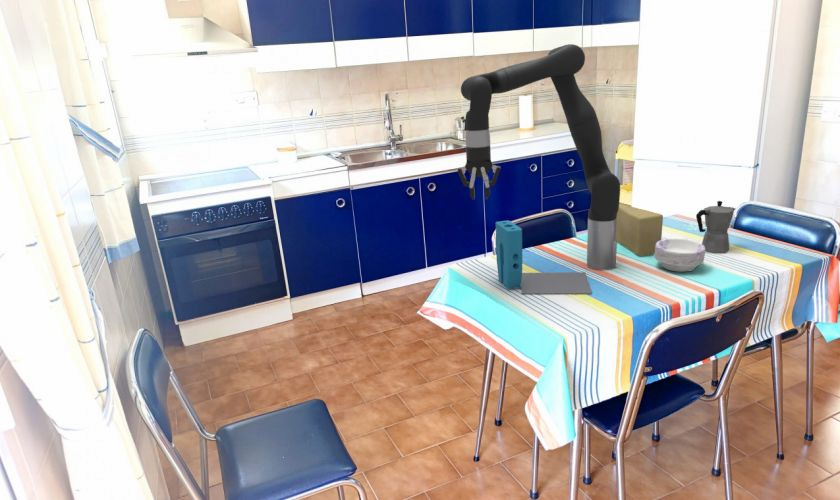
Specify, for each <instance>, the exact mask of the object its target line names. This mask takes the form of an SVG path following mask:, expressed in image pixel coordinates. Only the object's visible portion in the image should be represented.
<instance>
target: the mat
mask: <svg viewBox="0 0 840 500" xmlns="http://www.w3.org/2000/svg"><path fill="white" fill-rule="evenodd" d="M520 290H521V291H520V294H521V295H593V291H592V289H591V286H590V283H589V280H588V276H587V273H586V272H583V271H581V272H580V271H577V272H576V271H575V272H570V271H569V272H568V271H567V272H522V278H521V287H520Z"/></svg>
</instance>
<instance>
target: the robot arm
mask: <svg viewBox="0 0 840 500" xmlns="http://www.w3.org/2000/svg"><path fill="white" fill-rule="evenodd" d="M585 62H586V56H585V52H584V50H583V49H582V47H580V46H579V45H577V44H574V43H569V44H564V45H562V46H561V45H560V46H558V47H555V48H553V49H551V50H550V51H549V52H548V54H547V55H546V56H543V57H539V58H536V59H532V60H528V61H524V62H519V63H515V64H512V65H508V66H506V67H502V68H499V69H496V70H494V71H491V72H485V73H480V74H476V75H472V76H470V77H467V78H466V79H464V80H463V82H462V84H461V86H460V93H461V95H462V96H463V98H464V99H466V100H467V101H469V110H467V112H466V114H465V157H466V162H465V165H464V166H462V167H458V169H457V173H458V176H459V177H460V181H461V182H462V185H463V187H467V188H469V197H470V198H471V200H476V199H475V198H476V193H475V192H476V190H475V180H476V178H483V182H484V185H485V186H484V199H485V200H488V199H489V198H490V195H491V187H492V186H495V185H496V182H497V180H498V176H499V175H500V171H501V166H500V165H494V164H493V163H492V159H491V158H492V155H491V151H492V149H491V133H490V122H489V121H490V117H489V113H490V109H491V105H492V104H491V103H492V96H493V95H495V94H504V93H507V92H510V91H513V90H517V89H520V88H522V87H526V86H527V85H531V84H533V83H536V82H539V81H541V80H545V79H547V78H550V79H551V81H552V83H553V86H554V88H555V90H556V92H557V95H558V98H559V101H560V104H561V107H562V109H563V113H564V116H565V119H566V122H567V126H568V129H569V132H570V133H569V134H570V135H571V138H572V141H573V143H574V146H575V148H576V151H577V154H578V155H579V158H580V160H581V163H582V167H583V172H584V177H585V182H586V187H587V189H588V191H589V193H590V195H591V196H590V208H589V209H588V212H587V215H588V216H587V237H586V238H587V239H586V240H587V242H586V243H587V245H586V246H587V247H586V266H587V267H588V268H589V269H593V270H598V271H604V270H605V271H606V270H611V269H616V268H617V266H616V265H617V248H618V244H617V243H618V242H617V241H616V218H617V212H618V210H619V203H620V200H621V199H620V196H621V183H620V180H619V178H618V177H617V176H616V175H615V174H614V173H612V171H611V170H610V168H609V165H608V164H607V163H608V162H607V161H606V157H605V155H604V151H603V139H602V138H603V137H602V130H601V126H600V122H599V119H598V116H597V113H596V112H597V111H596V110H595V108H594V107H593V105H592V104H591V102H590V101H589V100H588V99H587V97H586V96H585V95H584V93H583V92H582V90H581V89H580V88H579V86H578V84H577V83H578V82H577V80H576V77H575V74H577V73H578V72H580V71H581V70H582V69H583V67H584V65H585ZM491 170H492V173H494V174H493V176H492V179H491V181H490V179H489V176H488V174H489V173H490V171H491ZM466 171H467V172H468V173H469V175H470V181H468V179H467V177H466V175H465V173H466Z"/></svg>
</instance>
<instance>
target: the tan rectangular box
mask: <svg viewBox="0 0 840 500" xmlns="http://www.w3.org/2000/svg"><path fill="white" fill-rule="evenodd" d="M663 219H664V216H663V214H662V213H661V214H660V213H657V212H653V211H650V210H646V209H642V208H637V207H634V206H630V205H627V204H624V203H621V202H619V210H618V212H617V218H616V241H617V243H618V244H620V245H621V246H623V247H625V248H626V249H628V250H630V251H631V252H632V253H634V254H635V255H637V256H638V257H646V256H650V255H655V245H656V243H657V242H658V241H660V240H662V235H663V223H664V222H663Z"/></svg>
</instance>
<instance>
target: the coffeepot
mask: <svg viewBox="0 0 840 500" xmlns="http://www.w3.org/2000/svg"><path fill="white" fill-rule="evenodd" d="M716 202H717V203H716V204H717V205H710V206H707V207H705V208H703V209H701V210H699V211H698V212H697V213H696V216H695V217H696V222H697V227H698V230H699V233H704V235H703V238H702V242H701V244H702V245H704V246H705V253H709V254H725V253H728V252H729V251H730V239H729V238H730V237H729V233H728V229H729V228H730V227H731V224H732V220H733V216H734V212H735V210H736V208H735V207H732V206H722V205H723V201H721V200H718V201H716ZM702 216H704V223H705V224H703V222H702ZM703 225H705V228H703Z"/></svg>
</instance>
